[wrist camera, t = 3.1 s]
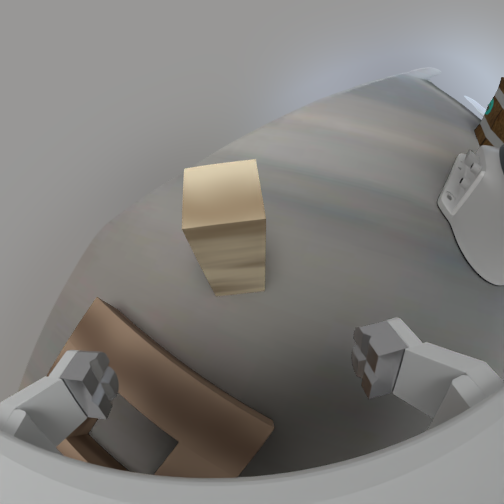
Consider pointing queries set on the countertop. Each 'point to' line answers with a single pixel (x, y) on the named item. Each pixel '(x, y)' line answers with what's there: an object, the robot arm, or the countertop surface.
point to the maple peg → (226, 225)
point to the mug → (493, 121)
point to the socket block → (166, 402)
